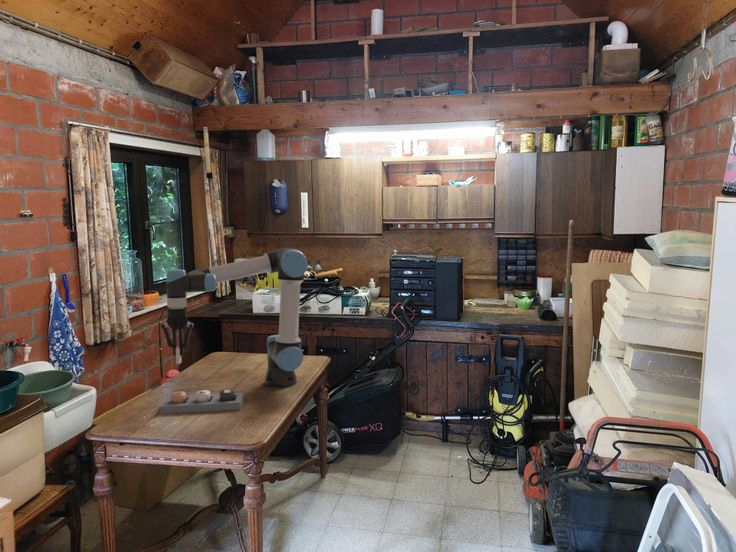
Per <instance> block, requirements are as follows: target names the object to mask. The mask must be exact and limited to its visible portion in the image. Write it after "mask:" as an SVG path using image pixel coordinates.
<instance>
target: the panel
mask: <svg viewBox="0 0 736 552" xmlns="http://www.w3.org/2000/svg"><path fill="white" fill-rule="evenodd" d="M244 394H245V393H244V392H235V400H233V401H220V393H210V395H211V400H210V401H209V402H201V403H197V402H196V394H191V395H190V394H189V395H187V394H186V402H185V403H182V404H172V403H171V395H169V396H166V398H165V399H164V401H163V402H162V404H161V405H160V407H159V409H160V415H164V414H182V413H201V412H204V413H205V412H217V411H219V412H220V411H221V412H222V411H236V410H237V411H239V410H242V406H243V403H244V400H245V398H244V397H245V395H244Z"/></svg>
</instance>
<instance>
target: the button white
mask: <svg viewBox="0 0 736 552" xmlns="http://www.w3.org/2000/svg"><path fill="white" fill-rule="evenodd" d="M210 394H211V390H208V389H204V390H203V389H202V390H199V391H196V392H195V394H194V395H196V402H197V403H201V402H209V401H210V400H211V395H210Z"/></svg>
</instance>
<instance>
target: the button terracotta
mask: <svg viewBox="0 0 736 552" xmlns="http://www.w3.org/2000/svg"><path fill="white" fill-rule="evenodd" d="M186 395H187V392H186V391H183V390H180V391H173V392H172V393H171V394H170V396H171V403H172V404H182V403H185V402H186Z"/></svg>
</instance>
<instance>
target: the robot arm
mask: <svg viewBox="0 0 736 552" xmlns="http://www.w3.org/2000/svg"><path fill="white" fill-rule="evenodd" d="M308 266H309V263H308V258H307V257H306V255H305V254H304V253H303V252H301V251H300V250H298V249H296V248H295V249H294V248H290V247H283V248H280V249H276V250H272V251H268V252H264V254H263V255H262V256H257V257H252V258H247V259H243V260H239V261H235V262H230V263H226V264H220V265H216V266H212V267H207V268H202V269H194V270H191V272H190V273H189V274H187V272H186V270H185V269H169V270H168V271H167V272H166V278H165V279H166V281H165V282H166V284H165V285H166V304H167V305H166V307H168V308H166V309H167V319H166V321H165V322H163V323H162V324H161V325H160V327H161V328H162V330H163V333H164V336H165V340H166V342H167V346H168V347H169V348H172V350H173V351H172V352H173V354H172V355H173V356H175V364H176V365H180V364H181V363H182V356H183V355H184V352H185V351H184V350H185V349H184V347H185V348H186V347H187V346H188V345H189V341H190V336H191V333H192V332H191V331H192V329H193V327H194V325H195V324H194V323H193V322H191V321H189V318H188V310H187V309H188V308H187V305H188V303H187V293H204V292H205V293H209V292H215V291H216V289H217V284H221V283H224V282H228V281H229V282H230V281H233V280H238V279H242V278H247V277H251V276H256V275H260V274H264V273H268V274H273V273H275V274H276V273H277V280H278V281H279V282H280V297H279V301H280V302H279V320H278V321H279V323H278V324H279V325H278V334H272V335H269V336H268V337H267V339H266V351H267V369H266V373H265V376H264V384H265V385H266V386H267V387H271V388H272V387H273V388H285V387H290V386H293V385H294V384H296V383H297V382H298V381H297V379H298V377H297V374H296V370H297V369H298V368H300V367H301V366H302V364H303V362H304V354H303V353H304V352H303V351H302V349H301V348H302V339H301V338H300V337H299V325H300V324H299V321H300V320H299V319H300V302H301V300H300V299H301V284H302V283H303V282H304V281H305V273H306V272H307V269H308ZM185 326H186V327H187V328H186V329H187V330H186V333H185V338H184V328H185ZM169 327H170V328H171V333H172V336H171V333H170V330H169ZM178 344H179V346H178Z"/></svg>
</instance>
